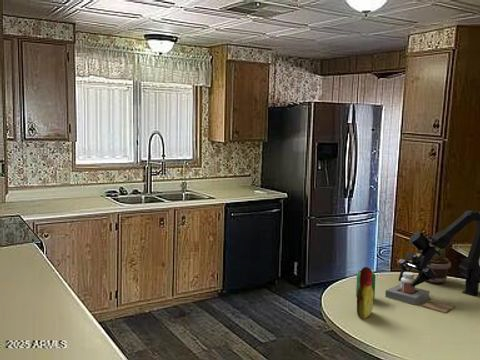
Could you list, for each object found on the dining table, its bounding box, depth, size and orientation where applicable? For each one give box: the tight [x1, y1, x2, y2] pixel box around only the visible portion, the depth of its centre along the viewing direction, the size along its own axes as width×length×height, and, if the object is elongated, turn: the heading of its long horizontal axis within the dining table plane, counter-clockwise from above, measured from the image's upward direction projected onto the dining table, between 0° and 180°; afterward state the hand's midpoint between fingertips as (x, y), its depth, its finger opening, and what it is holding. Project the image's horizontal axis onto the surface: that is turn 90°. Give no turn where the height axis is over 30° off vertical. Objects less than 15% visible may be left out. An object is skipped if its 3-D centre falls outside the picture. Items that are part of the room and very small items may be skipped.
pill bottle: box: [400, 271, 416, 295], centre depth 220 cm, size 6×6×11 cm
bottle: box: [356, 266, 374, 319], centre depth 197 cm, size 12×6×20 cm, turn 154°
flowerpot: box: [425, 247, 452, 285], centre depth 245 cm, size 14×15×20 cm
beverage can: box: [355, 270, 376, 300], centre depth 217 cm, size 8×8×12 cm
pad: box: [421, 299, 456, 314], centre depth 209 cm, size 10×10×1 cm
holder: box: [385, 283, 430, 306], centre depth 221 cm, size 14×14×3 cm
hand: (405, 283), depth 220 cm, fingers open, 8 cm apart
